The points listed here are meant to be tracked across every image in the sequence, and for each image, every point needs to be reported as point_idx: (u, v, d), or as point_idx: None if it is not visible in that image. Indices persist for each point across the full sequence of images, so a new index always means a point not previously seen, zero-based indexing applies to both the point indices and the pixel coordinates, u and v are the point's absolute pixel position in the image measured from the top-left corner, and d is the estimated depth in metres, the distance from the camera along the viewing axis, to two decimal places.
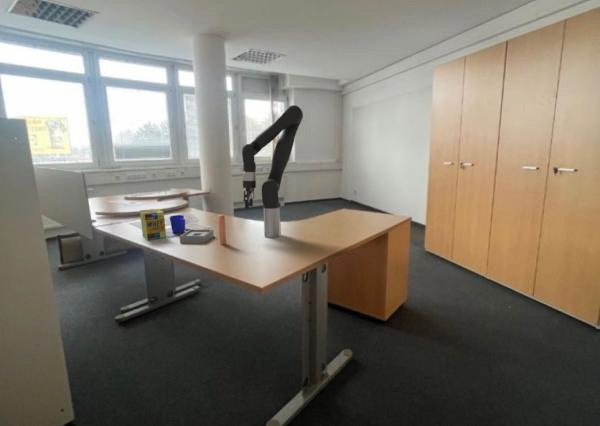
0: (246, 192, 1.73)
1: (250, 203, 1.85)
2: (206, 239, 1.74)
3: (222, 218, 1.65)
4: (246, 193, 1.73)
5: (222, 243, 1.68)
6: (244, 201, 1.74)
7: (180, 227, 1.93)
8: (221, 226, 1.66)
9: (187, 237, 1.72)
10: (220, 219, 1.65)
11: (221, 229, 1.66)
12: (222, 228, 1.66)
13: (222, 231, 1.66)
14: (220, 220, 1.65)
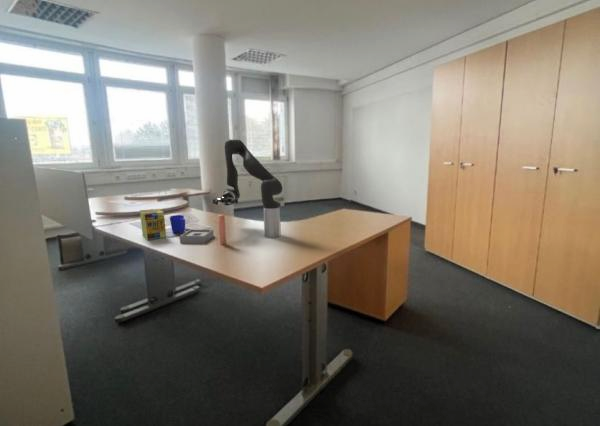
0: None
1: (231, 202, 1.78)
2: (206, 239, 1.74)
3: (222, 218, 1.65)
4: None
5: (222, 243, 1.68)
6: (213, 203, 1.80)
7: (180, 227, 1.93)
8: (221, 226, 1.66)
9: (187, 237, 1.72)
10: (220, 219, 1.65)
11: (221, 229, 1.66)
12: (222, 228, 1.66)
13: (222, 231, 1.66)
14: (220, 220, 1.65)
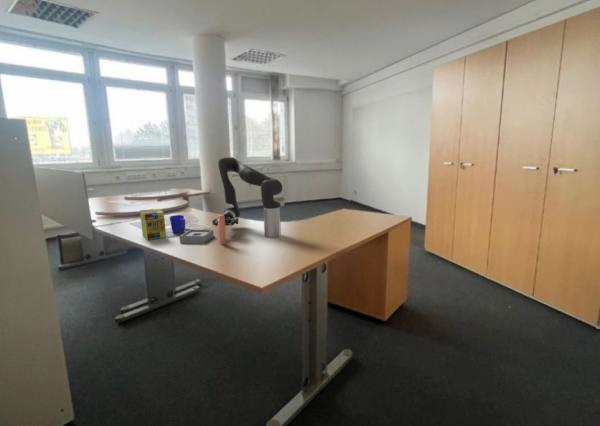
0: None
1: (231, 223, 1.75)
2: (206, 239, 1.74)
3: (222, 218, 1.65)
4: None
5: (222, 243, 1.68)
6: (213, 224, 1.77)
7: (180, 227, 1.93)
8: (221, 226, 1.66)
9: (187, 237, 1.72)
10: (220, 219, 1.65)
11: (221, 229, 1.66)
12: (222, 228, 1.66)
13: (222, 231, 1.66)
14: (220, 220, 1.65)
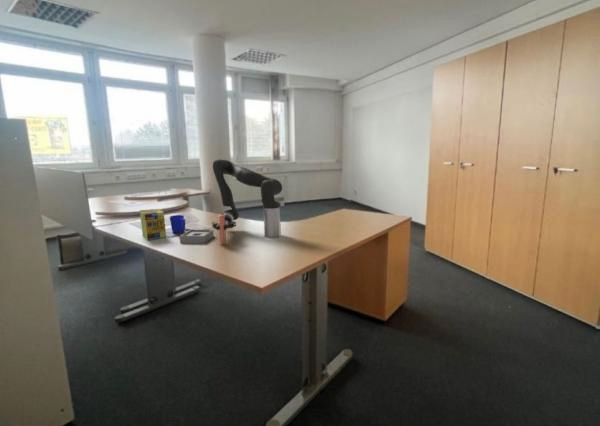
0: (212, 224, 1.73)
1: None
2: (206, 239, 1.74)
3: (222, 218, 1.65)
4: (212, 224, 1.72)
5: (222, 243, 1.68)
6: (214, 227, 1.69)
7: (180, 227, 1.93)
8: (221, 226, 1.66)
9: (187, 237, 1.72)
10: (220, 219, 1.65)
11: (221, 229, 1.66)
12: (222, 228, 1.66)
13: (222, 231, 1.66)
14: (220, 220, 1.65)
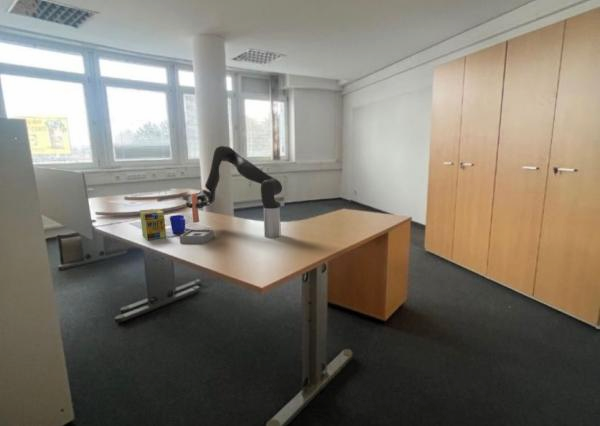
0: (186, 203, 1.80)
1: None
2: (206, 239, 1.74)
3: (194, 196, 1.72)
4: (186, 203, 1.80)
5: (195, 221, 1.75)
6: (187, 206, 1.76)
7: (180, 227, 1.93)
8: (193, 204, 1.73)
9: (187, 237, 1.72)
10: (192, 197, 1.72)
11: (193, 207, 1.74)
12: (194, 206, 1.73)
13: (195, 209, 1.74)
14: (192, 198, 1.73)
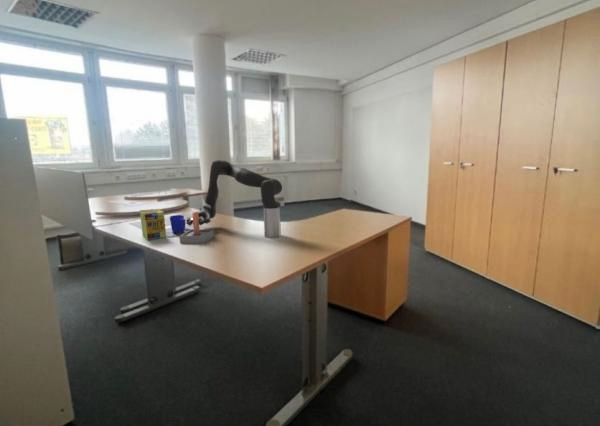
0: None
1: None
2: (206, 239, 1.74)
3: (196, 215, 1.75)
4: (187, 219, 1.82)
5: None
6: (187, 223, 1.78)
7: (180, 227, 1.93)
8: (195, 222, 1.75)
9: (187, 237, 1.72)
10: (194, 216, 1.75)
11: (195, 225, 1.76)
12: (196, 224, 1.76)
13: (196, 227, 1.76)
14: (194, 217, 1.75)
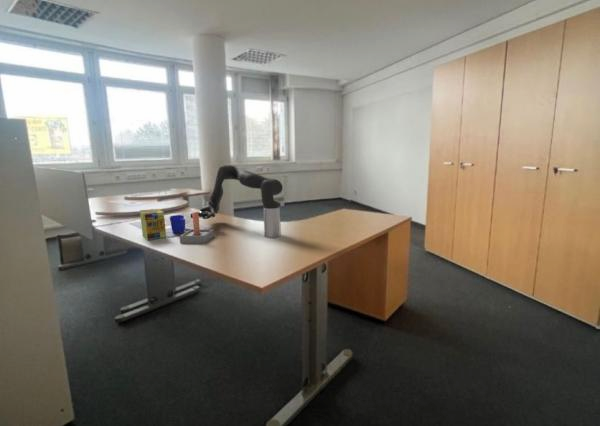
0: None
1: None
2: (206, 239, 1.74)
3: (196, 215, 1.75)
4: None
5: None
6: (191, 217, 1.92)
7: (180, 227, 1.93)
8: (195, 222, 1.75)
9: (187, 237, 1.72)
10: (194, 216, 1.75)
11: (195, 225, 1.76)
12: (196, 224, 1.76)
13: (196, 227, 1.76)
14: (194, 217, 1.75)
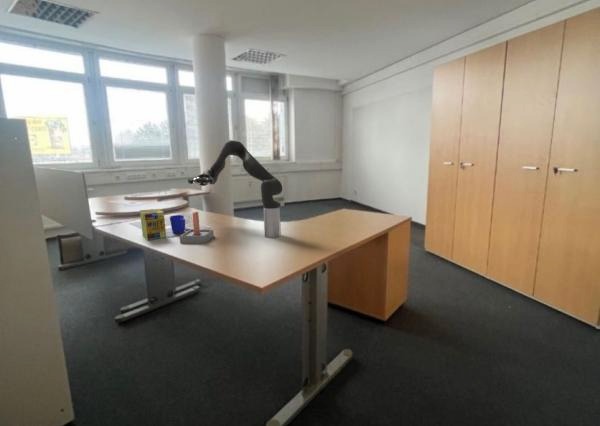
0: None
1: None
2: (206, 239, 1.74)
3: (196, 215, 1.75)
4: None
5: None
6: (188, 182, 1.88)
7: (180, 227, 1.93)
8: (195, 222, 1.75)
9: (187, 237, 1.72)
10: (194, 216, 1.75)
11: (195, 225, 1.76)
12: (196, 224, 1.76)
13: (196, 227, 1.76)
14: (194, 217, 1.75)
